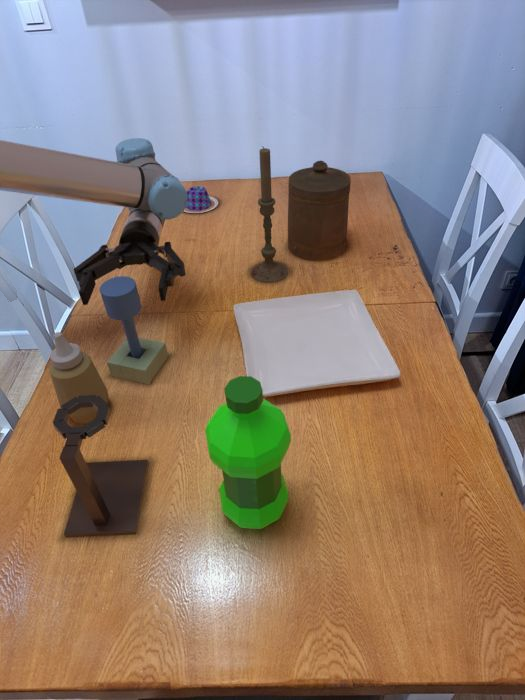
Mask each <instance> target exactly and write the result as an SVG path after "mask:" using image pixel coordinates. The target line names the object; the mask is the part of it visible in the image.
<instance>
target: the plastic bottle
mask: <svg viewBox="0 0 525 700" xmlns="http://www.w3.org/2000/svg"><path fill="white" fill-rule="evenodd" d="M224 395H225V402H226V403H223V404H221V405H219V406H218V407H217V409H216V410H215V412H214V413H213V415H212V417H211V418H210V419H209V421H208V422H207V424H206V427H205V429H204V433H205V439H206V443H207V450H208V455H209V459H210V461H211V462H212V464H213V465H214V466H216V467H217V468H218V469H220V470H221V471H222V472H221V473H222V477H223V480H222V482H221V484H220V486H219V487H218V493H219V499H220V505H221V506H220V507H221V511H222V514H223V515H225V516H226V517H227V518H228V519H229V520H230V521H232V522H233V524H235V525H237V526H238V527H239V528H240V529H251V530H252V529H253V530H262V529H264V528H266V527H267V526H269V525H271V524H273V523H275V522H276V521H278V520H279V519H281V517H282V515H283V513H284V510H285V508H286V506H287V504H288V501H289V500H290V499H289V498H290V495H289V489H288V487H287V483H286V480H285V477H284V475H283V474H282V463H283V460H284V459H285V456H286V454H287V452H288V451H289V448H290V445H291V442H292V434H291V432H290V428H289V425H288V422H287V419H286V416H285V413H284V412H283V411H282V409H281V408H279V407H278V406H276V405H275V404H273V403H271V402H270V401H269V400H266V399H265V398H264V397H263V392H262V387H261V384H260V382H259V381H258V380H256V379H255V378H253V377H250V376H247V375H239V376H237V377H234V378H232V379H230V380H229V381H228V382H227V384H226V385H225V387H224Z"/></svg>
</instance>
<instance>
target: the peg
mask: <svg viewBox="0 0 525 700" xmlns="http://www.w3.org/2000/svg"><path fill="white" fill-rule="evenodd" d="M99 293H100V296H101V299H102V302H103V305H104V308H105V311H106V312H105V313H106V315H107V317H108V318H110V319H111V320H114V321H121V324H122V328H123V331H124V334H125V337H126V338H125V339H127V341H128V344H129V348H130V351H131V354H132V357H133V358H138V359H140V358H141V356H142V355H143V353H142V350H141V346H140V342H139V339H138V338H139V335H138V332H137V327H136V325H135V321H134V318H135V317H137V316H138V315H139V314H140V313H141V311H142V307H143V306H142V302H141V299H140V293H139V290H138V286H137V282H136V280H135V279H134V278H132V277H130V276H123V275H121V276H115V277H111V278H109V279H106V280H105V281H103V282H102V283H101V284H100V286H99Z"/></svg>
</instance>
